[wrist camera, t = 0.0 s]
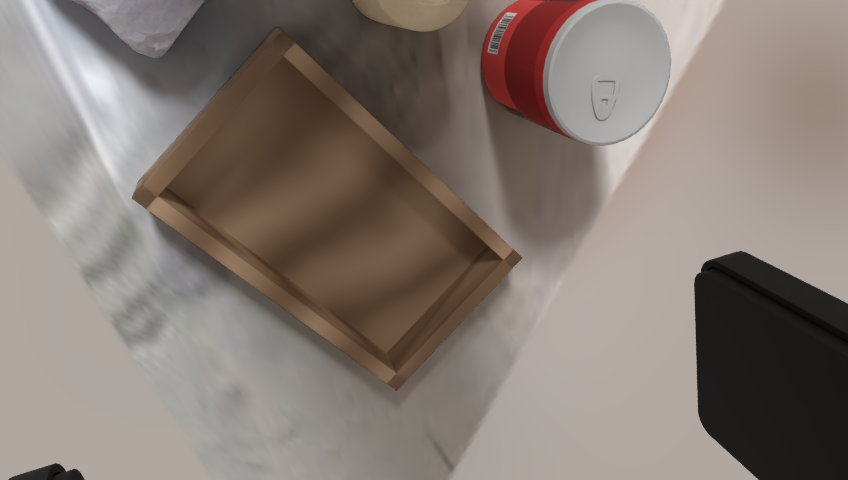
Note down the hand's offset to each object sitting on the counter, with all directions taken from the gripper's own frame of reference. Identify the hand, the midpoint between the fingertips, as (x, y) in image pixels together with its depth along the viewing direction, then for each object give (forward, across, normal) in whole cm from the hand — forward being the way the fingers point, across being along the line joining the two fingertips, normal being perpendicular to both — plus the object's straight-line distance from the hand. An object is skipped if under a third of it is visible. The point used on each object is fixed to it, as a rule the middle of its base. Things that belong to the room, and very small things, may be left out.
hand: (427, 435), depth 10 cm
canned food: (+38, -18, +2) cm, 42 cm away
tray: (+37, -3, +9) cm, 39 cm away
